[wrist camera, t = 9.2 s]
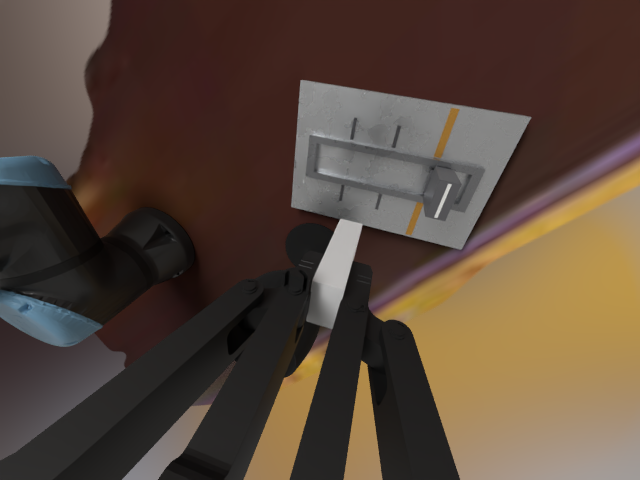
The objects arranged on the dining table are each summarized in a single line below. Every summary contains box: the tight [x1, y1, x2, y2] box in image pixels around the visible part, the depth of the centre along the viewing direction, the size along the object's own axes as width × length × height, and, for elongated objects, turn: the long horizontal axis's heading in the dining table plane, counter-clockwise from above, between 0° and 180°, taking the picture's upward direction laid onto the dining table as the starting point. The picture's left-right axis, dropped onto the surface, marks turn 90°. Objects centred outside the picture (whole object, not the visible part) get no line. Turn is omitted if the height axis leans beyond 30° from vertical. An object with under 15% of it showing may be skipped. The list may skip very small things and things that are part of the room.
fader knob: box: [422, 166, 462, 221], centre depth 28 cm, size 2×4×6 cm, turn 172°
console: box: [291, 80, 531, 250], centre depth 32 cm, size 24×16×3 cm, turn 82°
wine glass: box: [235, 223, 334, 378], centre depth 35 cm, size 10×10×20 cm
